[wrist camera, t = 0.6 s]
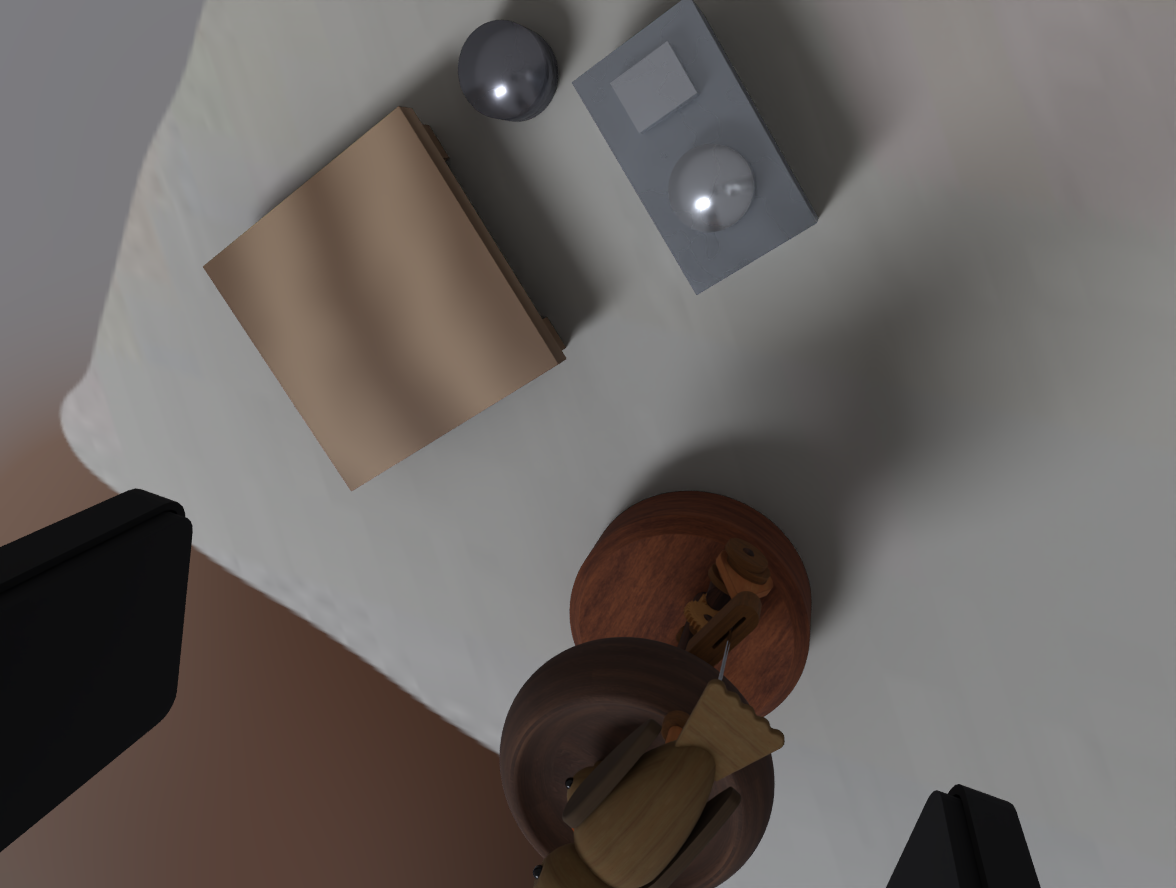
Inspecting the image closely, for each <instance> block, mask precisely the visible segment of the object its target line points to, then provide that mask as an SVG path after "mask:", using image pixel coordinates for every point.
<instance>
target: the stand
mask: <svg viewBox="0 0 1176 888" xmlns="http://www.w3.org/2000/svg"><path fill="white" fill-rule="evenodd" d="M448 158H449V157H448V155H447V154H446V152H445V150H444V149H443V147H442V145H441V144H440V142H439V141H438V139H437V137H436V136H435V134H434V132H433V131H432V129H431V128H430V126H429V125H423V124H422V123H421V122H420V120H419V119H418V117H417V115H416V114H415V112H414V111H413V109H412V108H407V107H401V106H398V107H397V108H396V109H395V110H393V111H392V112H391V113H390V114H388V115H387V116H386V117H385V118H384V119H382V120H381V121H380V122H379V123H377V124H376V125H375V126H374V127H373V128H371V129H370V130H369V131H368V132H366V133H365V134H364V135H363V136H362V137H360V138H359V139H358V140H357V141H355V142H354V143H353V144H352V145H351V146H349V147H348V148H347V149H346V150H345V151H343V152H342V153H341V154H340V155H338V156H337V157H336V158H335V159H334V160H332V161H331V162H330V163H329V164H327V165H326V166H325V167H324V168H323V169H321V170H320V171H319V172H318V173H316V174H315V175H314V176H313V177H312V178H310V179H309V180H308V181H307V182H305V183H304V184H303V185H302V186H301V187H299V188H298V189H297V190H296V191H294V192H293V193H292V194H291V195H290V196H288V197H287V198H286V199H285V200H283V201H282V202H281V203H280V204H279V205H277V206H276V207H275V208H274V209H272V210H271V211H270V212H269V213H268V214H266V215H265V216H264V217H263V218H261V219H260V220H259V221H258V222H257V223H255V224H254V225H253V226H252V227H250V228H249V229H248V230H247V231H246V232H244V233H243V234H242V235H241V236H240V237H238V238H237V239H236V240H235V241H233V242H232V243H231V244H230V245H229V246H227V247H226V248H225V249H224V250H222V251H221V252H220V253H219V254H218V255H216V256H215V257H214V258H213V259H211V260H210V261H209V262H208V263H207V264H205V265H204V266H203V268H204V269H205V271H206V272H207V274H208V275H209V277H210V278H211V280H212V281H213V283H214V284H215V286H216V288H217V289H218V291H219V292H220V294H221V295H222V297H223V298H224V300H225V301H226V303H227V304H228V306H229V307H230V309H231V310H232V312H233V313H234V315H235V316H236V318H237V319H238V321H239V322H240V324H241V325H242V327H243V328H244V330H245V331H246V333H247V334H248V336H249V337H250V339H251V341H252V342H253V344H254V345H255V347H256V348H257V350H258V351H259V353H260V354H261V356H262V357H263V359H264V360H265V362H266V363H267V365H268V366H269V368H270V369H271V371H272V372H273V374H274V375H275V377H276V378H277V380H278V381H279V383H280V384H281V386H282V387H283V389H284V390H285V392H286V393H287V395H288V397H289V398H290V400H291V401H292V403H293V404H294V406H295V407H296V409H297V410H298V412H299V413H300V415H301V416H302V418H303V419H304V421H305V422H306V424H307V425H308V427H309V428H310V430H311V431H312V433H313V434H314V436H315V437H316V439H317V440H318V442H319V443H320V445H321V446H322V448H323V449H324V451H325V453H326V454H327V456H328V457H329V459H330V460H331V462H332V463H333V465H334V466H335V468H336V469H337V471H338V472H339V474H340V475H341V477H342V478H343V480H344V481H345V483H346V484H347V486H348V487H349V489H350V490H351V491H353V490H355V489H356V488H358V487H359V486H361V485H363V484H364V483H366V482H368V481H369V480H371V479H372V478H374V477H376V476H377V475H379V474H381V473H382V472H384V471H385V470H387V469H389V468H390V467H392V466H394V465H395V464H397V463H399V462H400V461H402V460H403V459H405V458H407V457H408V456H410V455H412V454H413V453H415V452H416V451H418V450H420V449H421V448H423V447H425V446H426V445H428V444H429V443H431V442H433V441H434V440H436V439H438V438H439V437H441V436H442V435H444V434H446V433H447V432H449V431H451V430H452V429H454V428H456V427H457V426H459V425H460V424H462V423H464V422H465V421H467V420H469V419H470V418H472V417H473V416H475V415H477V414H478V413H480V412H482V411H483V410H485V409H486V408H488V407H490V406H491V405H493V404H495V403H496V402H498V401H499V400H501V399H503V398H504V397H506V396H508V395H509V394H511V393H513V392H514V391H516V390H517V389H519V388H521V387H522V386H524V385H526V384H527V383H529V382H530V381H532V380H534V379H535V378H537V377H539V376H540V375H542V374H543V373H545V372H547V371H548V370H550V369H552V368H553V367H555V366H556V365H558V364H560V363H561V362H563V361H564V360H566V357H565V355H564V354H563V352H562V350H564V349H565V348H566V347H565V345H564V344H563V342H562V340H561V339H560V337H559V335H558V334H557V332H556V331H555V329H554V327H553V326H552V324H551V322H550V321H549V319H548V318H547V317H546V318H544V319H542V318H541V316H540V315H539V313H538V312H537V310H536V308H535V307H534V305H533V303H532V302H531V300H530V299H529V297H528V295H527V294H526V292H525V290H524V289H523V287H522V286H521V284H520V282H519V281H518V279H517V278H516V276H515V274H514V273H513V271H512V269H511V268H510V266H509V265H508V263H507V261H506V260H505V258H504V256H503V255H502V253H501V252H500V250H499V248H498V247H497V245H496V243H495V242H494V240H493V239H492V237H491V235H490V234H489V232H488V230H487V229H486V227H485V226H484V224H483V222H482V221H481V219H480V218H479V216H478V214H477V213H476V211H475V209H474V208H473V206H472V205H471V203H470V201H469V200H468V198H467V196H466V195H465V193H464V192H463V190H462V188H461V187H460V185H459V183H458V182H457V180H456V179H455V177H454V175H453V174H452V172H451V171H450V169H449V167H448V166H447V164H446V162H445V161H446V160H447V159H448Z"/></svg>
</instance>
